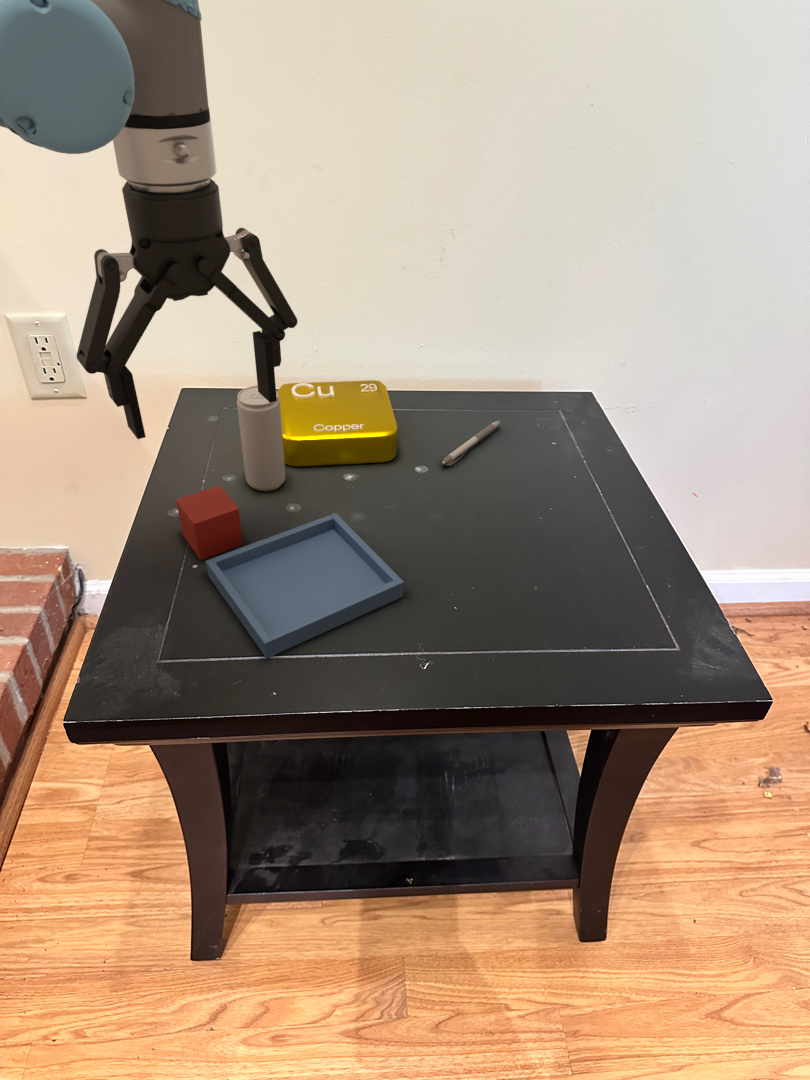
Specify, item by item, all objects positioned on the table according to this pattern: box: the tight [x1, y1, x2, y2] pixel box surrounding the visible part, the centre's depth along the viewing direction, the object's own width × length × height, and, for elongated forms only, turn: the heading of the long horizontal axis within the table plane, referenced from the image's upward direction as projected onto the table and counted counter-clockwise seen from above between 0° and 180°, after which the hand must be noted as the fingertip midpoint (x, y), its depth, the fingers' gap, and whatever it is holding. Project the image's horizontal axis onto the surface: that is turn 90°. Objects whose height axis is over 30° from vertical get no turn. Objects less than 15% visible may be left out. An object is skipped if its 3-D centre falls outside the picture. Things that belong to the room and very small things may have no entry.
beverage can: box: [236, 385, 286, 492], centre depth 86 cm, size 5×5×12 cm
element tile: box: [277, 379, 398, 468], centre depth 98 cm, size 15×15×5 cm
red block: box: [175, 485, 244, 561], centre depth 79 cm, size 5×5×5 cm
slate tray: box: [205, 512, 405, 659], centre depth 75 cm, size 16×14×2 cm
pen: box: [441, 420, 501, 467], centre depth 98 cm, size 1×14×1 cm, turn 142°
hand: (205, 413), depth 72 cm, fingers open, 13 cm apart
